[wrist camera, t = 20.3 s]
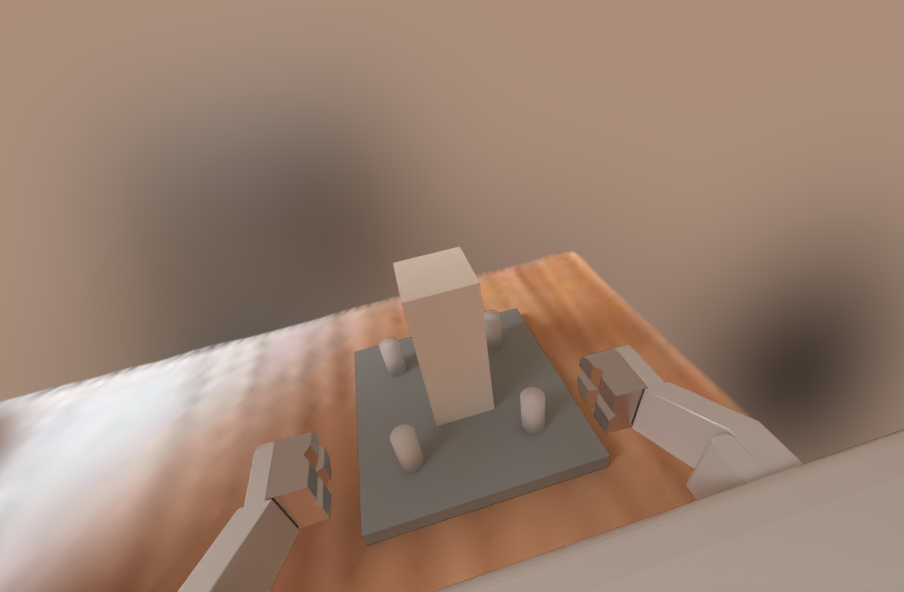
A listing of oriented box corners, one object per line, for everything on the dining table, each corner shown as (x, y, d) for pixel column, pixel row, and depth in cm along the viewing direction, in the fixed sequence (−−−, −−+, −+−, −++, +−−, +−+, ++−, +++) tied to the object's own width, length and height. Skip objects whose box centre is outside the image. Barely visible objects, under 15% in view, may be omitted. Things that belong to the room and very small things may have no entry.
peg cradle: (367, 545, 26) (345, 512, 23) (358, 361, 40) (344, 327, 37) (607, 466, 27) (616, 427, 24) (516, 318, 42) (515, 282, 39)
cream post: (436, 426, 30) (401, 303, 23) (425, 381, 34) (393, 263, 27) (494, 409, 31) (479, 282, 23) (477, 366, 35) (459, 246, 27)
